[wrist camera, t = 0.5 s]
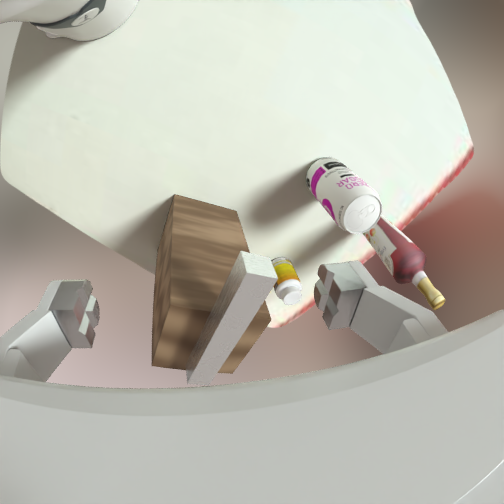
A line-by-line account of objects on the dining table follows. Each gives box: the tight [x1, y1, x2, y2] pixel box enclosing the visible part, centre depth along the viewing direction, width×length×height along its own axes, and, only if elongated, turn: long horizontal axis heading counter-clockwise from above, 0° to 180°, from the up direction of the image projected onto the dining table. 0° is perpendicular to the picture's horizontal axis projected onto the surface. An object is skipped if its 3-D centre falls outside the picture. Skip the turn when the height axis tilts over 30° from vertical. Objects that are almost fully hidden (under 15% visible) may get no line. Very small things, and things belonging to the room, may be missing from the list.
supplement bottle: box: [272, 257, 302, 305], centre depth 60 cm, size 6×6×10 cm
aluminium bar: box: [186, 251, 278, 385], centre depth 30 cm, size 20×3×3 cm, turn 156°
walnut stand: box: [152, 195, 271, 373], centre depth 44 cm, size 13×12×26 cm
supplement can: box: [306, 157, 382, 234], centre depth 46 cm, size 8×8×15 cm
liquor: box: [363, 214, 445, 310], centre depth 49 cm, size 7×7×28 cm
